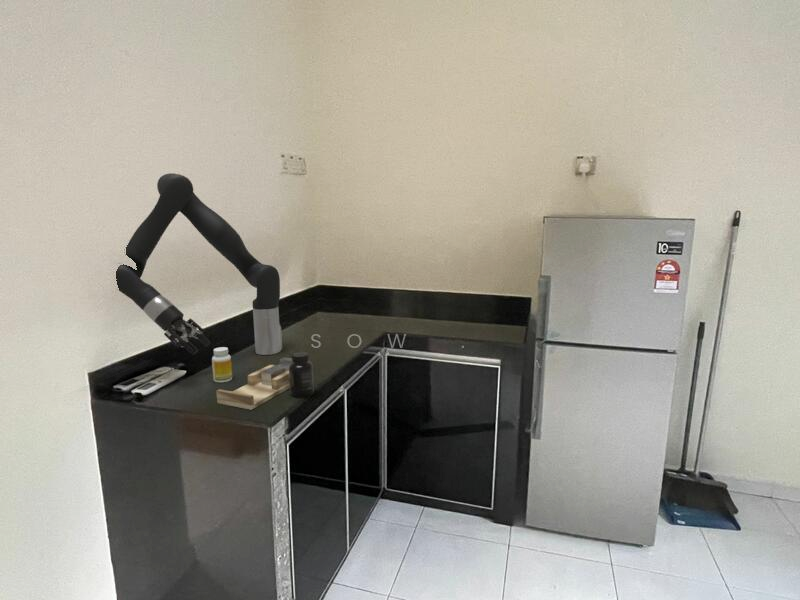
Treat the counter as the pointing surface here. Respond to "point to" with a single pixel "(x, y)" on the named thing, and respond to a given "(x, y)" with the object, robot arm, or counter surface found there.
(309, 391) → the supplement bottle
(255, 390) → the cradle
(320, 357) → the counter surface
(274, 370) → the shaft
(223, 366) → the supplement bottle
